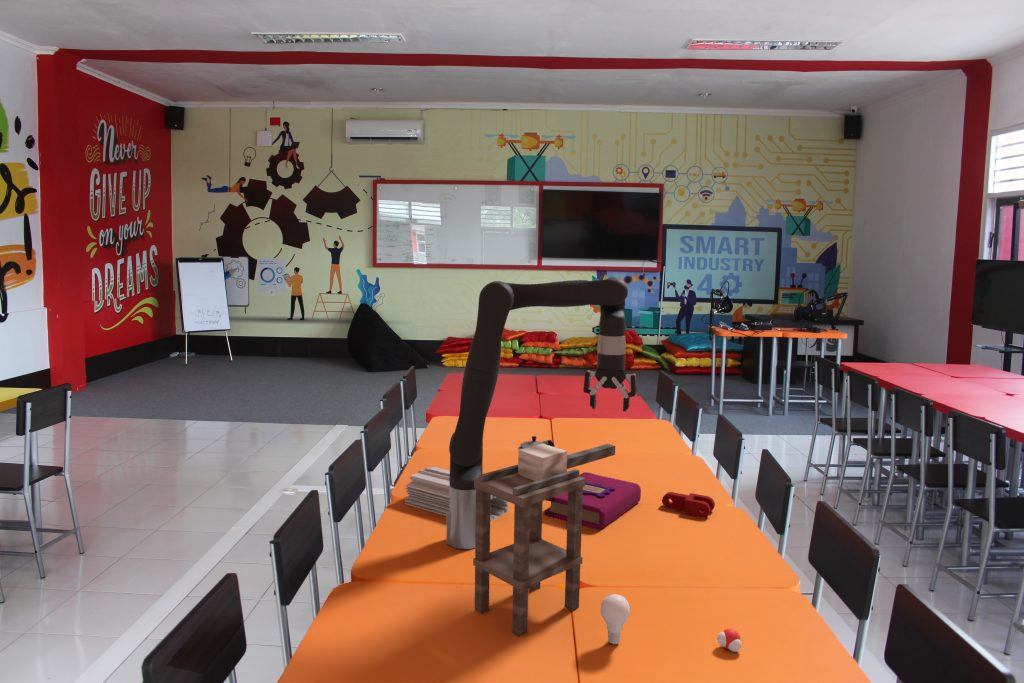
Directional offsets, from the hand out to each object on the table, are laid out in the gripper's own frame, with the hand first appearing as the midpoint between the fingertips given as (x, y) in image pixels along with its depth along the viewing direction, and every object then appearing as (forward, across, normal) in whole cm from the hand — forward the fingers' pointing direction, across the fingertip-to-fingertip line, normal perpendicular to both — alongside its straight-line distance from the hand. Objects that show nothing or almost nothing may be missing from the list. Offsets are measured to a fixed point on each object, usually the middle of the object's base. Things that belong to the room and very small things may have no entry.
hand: (609, 409), depth 206 cm
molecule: (+40, -35, +42) cm, 68 cm away
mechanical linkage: (+41, -20, -37) cm, 59 cm away
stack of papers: (+41, +50, -14) cm, 66 cm away
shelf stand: (+40, +11, +40) cm, 58 cm away
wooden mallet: (+8, +4, +28) cm, 29 cm away
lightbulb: (+40, -11, +48) cm, 64 cm away
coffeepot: (+40, +32, -43) cm, 67 cm away
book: (+41, +9, -28) cm, 50 cm away
